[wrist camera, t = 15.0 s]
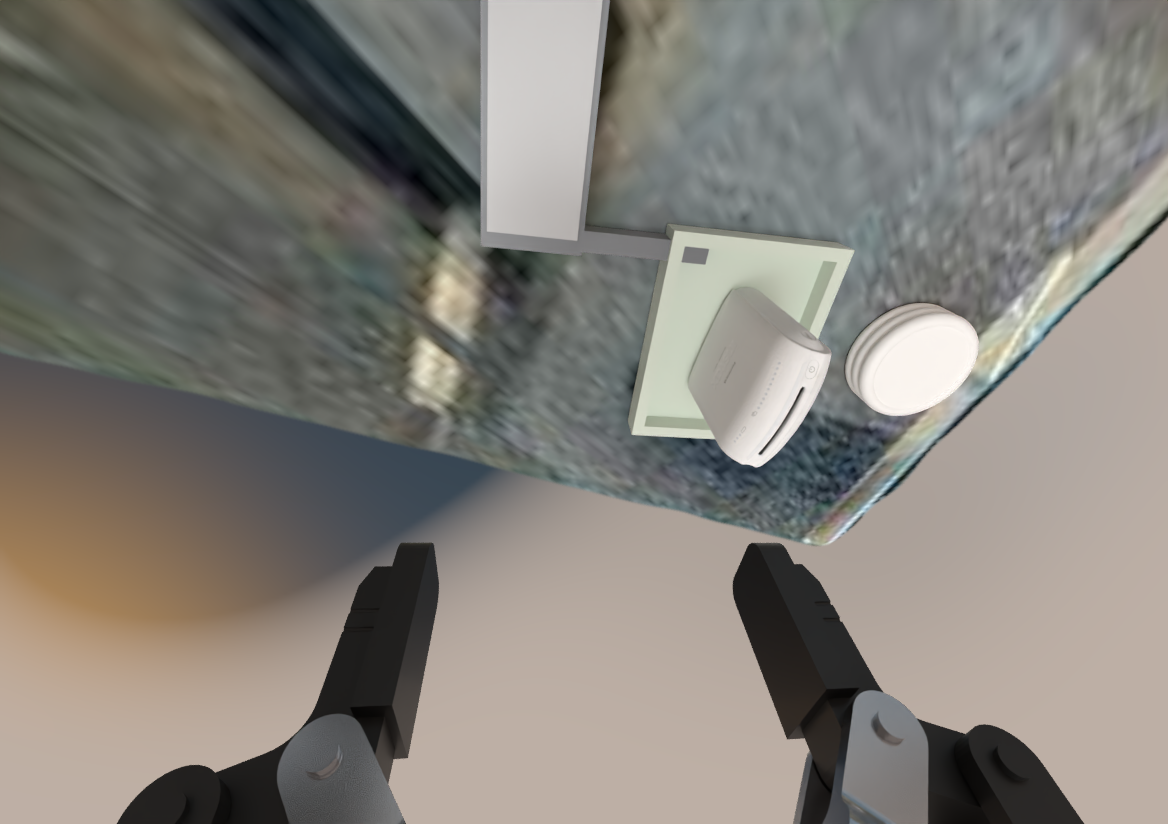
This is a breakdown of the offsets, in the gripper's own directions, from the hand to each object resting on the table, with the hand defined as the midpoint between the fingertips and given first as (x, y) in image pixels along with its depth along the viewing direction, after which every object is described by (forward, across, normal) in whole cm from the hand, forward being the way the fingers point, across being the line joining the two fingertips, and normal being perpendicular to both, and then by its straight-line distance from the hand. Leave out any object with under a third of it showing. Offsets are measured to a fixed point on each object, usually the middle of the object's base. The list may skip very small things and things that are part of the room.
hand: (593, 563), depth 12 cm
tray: (+29, -15, +7) cm, 33 cm away
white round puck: (+29, -32, +7) cm, 44 cm away
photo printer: (+28, -15, +7) cm, 33 cm away
